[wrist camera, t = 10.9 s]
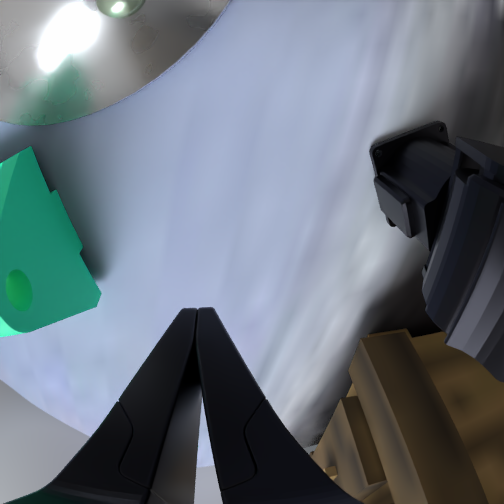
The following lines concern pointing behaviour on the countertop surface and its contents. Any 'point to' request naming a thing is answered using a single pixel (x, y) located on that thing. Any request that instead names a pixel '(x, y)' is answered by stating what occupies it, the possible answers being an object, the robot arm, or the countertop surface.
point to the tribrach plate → (91, 52)
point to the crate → (416, 425)
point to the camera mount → (38, 252)
